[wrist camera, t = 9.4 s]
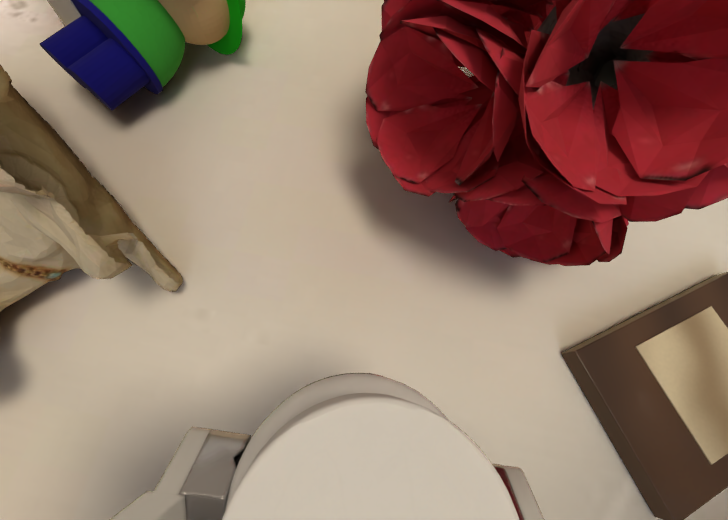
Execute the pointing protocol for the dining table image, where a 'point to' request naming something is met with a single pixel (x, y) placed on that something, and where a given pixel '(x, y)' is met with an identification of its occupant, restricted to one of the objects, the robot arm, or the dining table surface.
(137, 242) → the sculpture
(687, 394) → the board
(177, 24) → the toy
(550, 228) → the bouquet
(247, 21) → the dining table surface
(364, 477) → the pill bottle
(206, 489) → the robot arm
